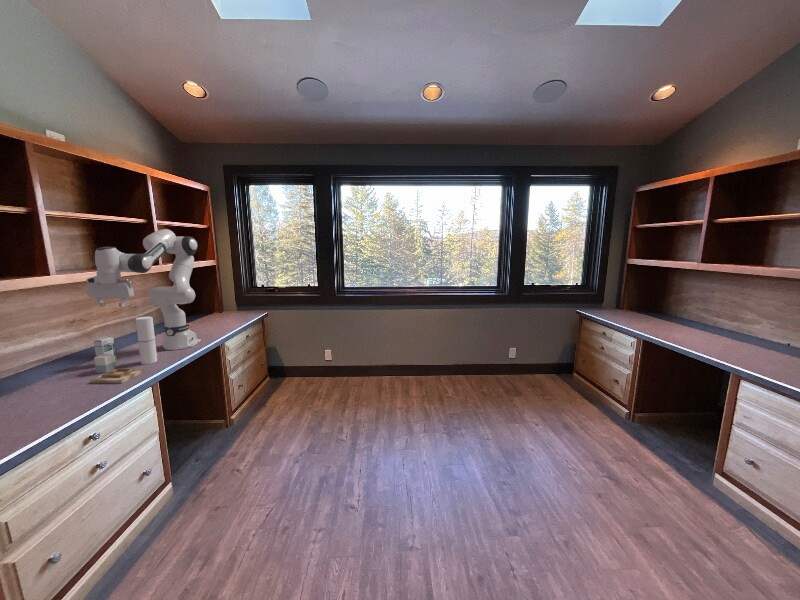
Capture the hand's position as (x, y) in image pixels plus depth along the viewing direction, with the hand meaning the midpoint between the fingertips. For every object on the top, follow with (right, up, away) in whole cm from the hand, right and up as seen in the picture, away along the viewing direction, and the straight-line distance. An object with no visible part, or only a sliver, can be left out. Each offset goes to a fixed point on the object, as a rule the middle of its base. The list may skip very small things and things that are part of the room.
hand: (112, 306), depth 158 cm
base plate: (+9, -35, -6) cm, 36 cm away
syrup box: (-13, -32, +11) cm, 36 cm away
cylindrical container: (+7, -31, +15) cm, 35 cm away
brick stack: (-5, -33, +1) cm, 33 cm away
